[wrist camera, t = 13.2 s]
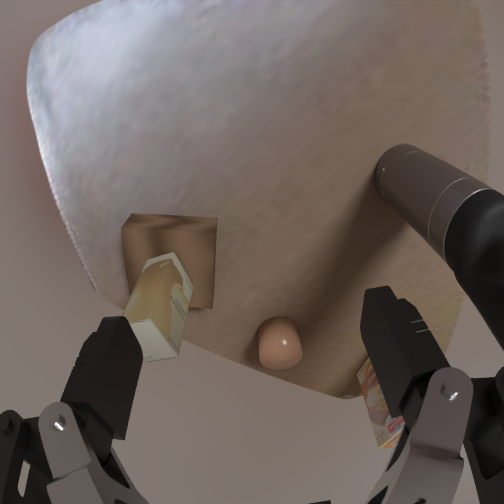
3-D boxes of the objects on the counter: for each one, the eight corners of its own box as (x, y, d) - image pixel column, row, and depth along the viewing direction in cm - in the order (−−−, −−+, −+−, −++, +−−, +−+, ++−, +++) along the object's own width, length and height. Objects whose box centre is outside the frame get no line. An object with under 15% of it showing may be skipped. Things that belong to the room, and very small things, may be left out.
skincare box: (194, 286, 41) (181, 359, 30) (167, 294, 41) (148, 364, 31) (173, 248, 37) (150, 319, 27) (144, 258, 38) (115, 327, 28)
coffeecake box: (386, 326, 53) (424, 409, 37) (413, 328, 54) (452, 404, 38) (354, 374, 61) (377, 450, 44) (380, 374, 62) (405, 445, 45)
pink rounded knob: (296, 314, 50) (302, 340, 45) (297, 341, 54) (302, 366, 49) (255, 319, 50) (257, 345, 45) (259, 346, 54) (261, 372, 49)
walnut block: (217, 216, 41) (215, 233, 37) (214, 287, 47) (212, 308, 43) (132, 211, 40) (121, 228, 36) (140, 281, 46) (131, 301, 42)
